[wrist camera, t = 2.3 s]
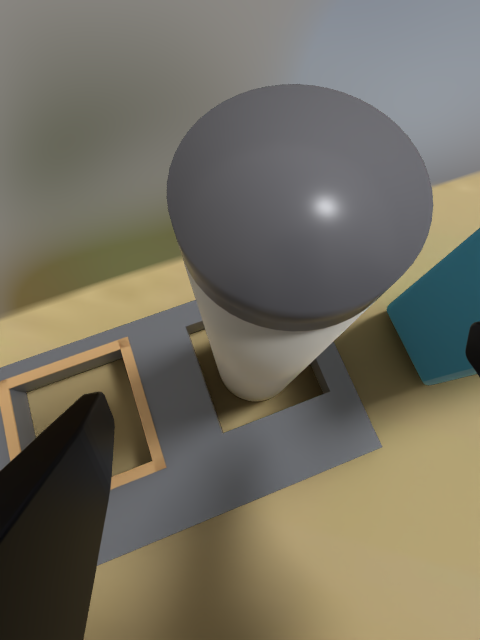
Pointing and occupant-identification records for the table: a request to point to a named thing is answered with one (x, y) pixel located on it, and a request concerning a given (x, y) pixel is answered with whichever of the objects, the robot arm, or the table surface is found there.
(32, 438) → the jack panel
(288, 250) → the white cylinder with cap
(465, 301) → the blue box
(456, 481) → the table surface
